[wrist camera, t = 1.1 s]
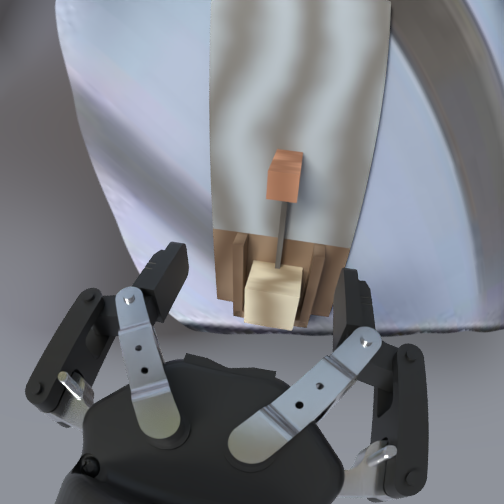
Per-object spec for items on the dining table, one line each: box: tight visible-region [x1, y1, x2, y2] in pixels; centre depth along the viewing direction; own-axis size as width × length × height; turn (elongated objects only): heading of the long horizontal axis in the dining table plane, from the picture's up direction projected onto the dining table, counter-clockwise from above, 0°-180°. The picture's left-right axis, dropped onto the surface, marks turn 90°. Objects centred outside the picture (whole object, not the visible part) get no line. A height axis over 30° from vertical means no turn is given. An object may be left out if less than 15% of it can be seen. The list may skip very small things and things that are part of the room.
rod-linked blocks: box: [244, 149, 303, 330], centre depth 30 cm, size 6×20×6 cm, turn 178°
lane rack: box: [209, 0, 391, 328], centre depth 27 cm, size 16×39×3 cm, turn 178°
